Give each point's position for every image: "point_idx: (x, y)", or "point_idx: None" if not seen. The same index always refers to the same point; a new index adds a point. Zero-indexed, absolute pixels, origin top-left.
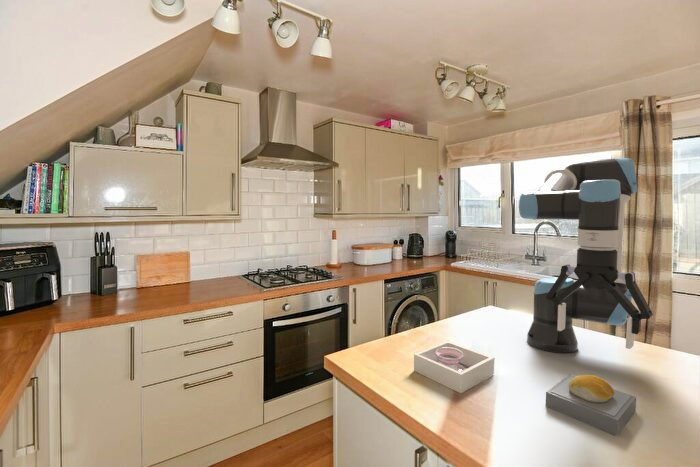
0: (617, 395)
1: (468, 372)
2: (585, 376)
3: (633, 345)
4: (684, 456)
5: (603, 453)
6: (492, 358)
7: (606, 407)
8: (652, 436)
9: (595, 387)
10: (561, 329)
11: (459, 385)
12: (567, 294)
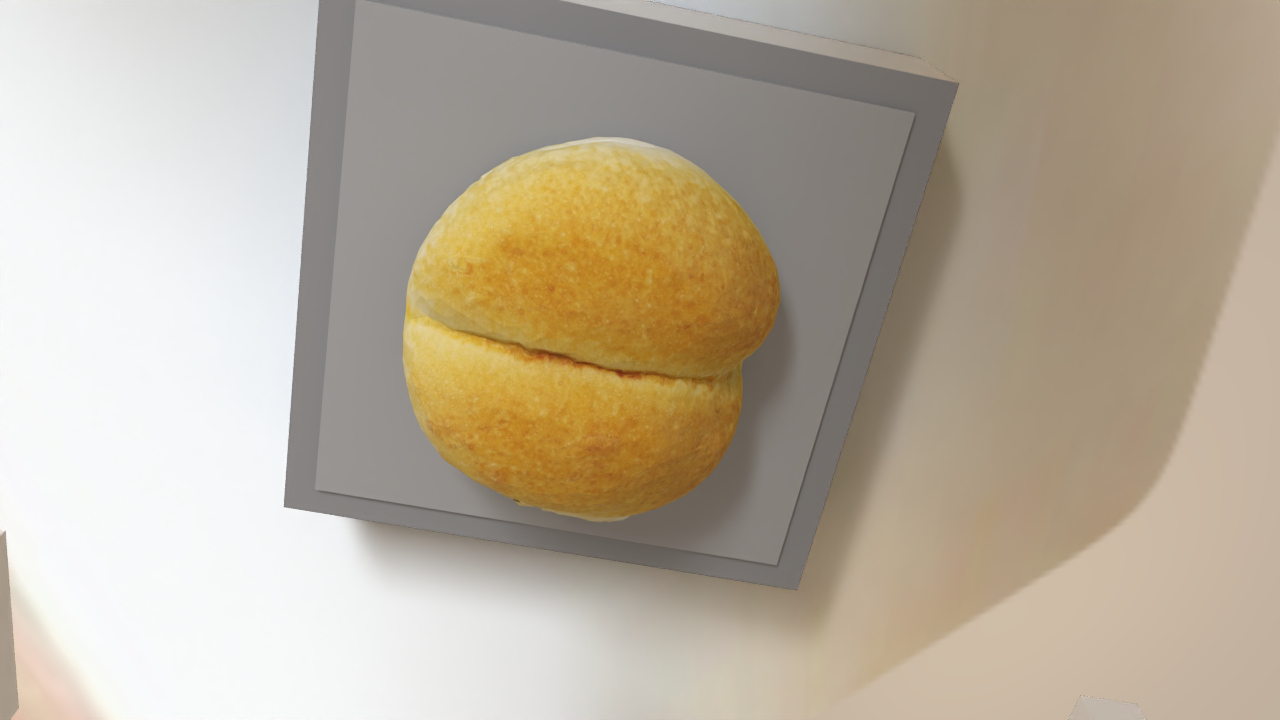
0: (801, 190)
1: None
2: (523, 313)
3: (1137, 711)
4: (1118, 488)
5: (718, 717)
6: None
7: (723, 474)
8: (984, 379)
9: (638, 499)
10: (1, 698)
11: None
12: None
